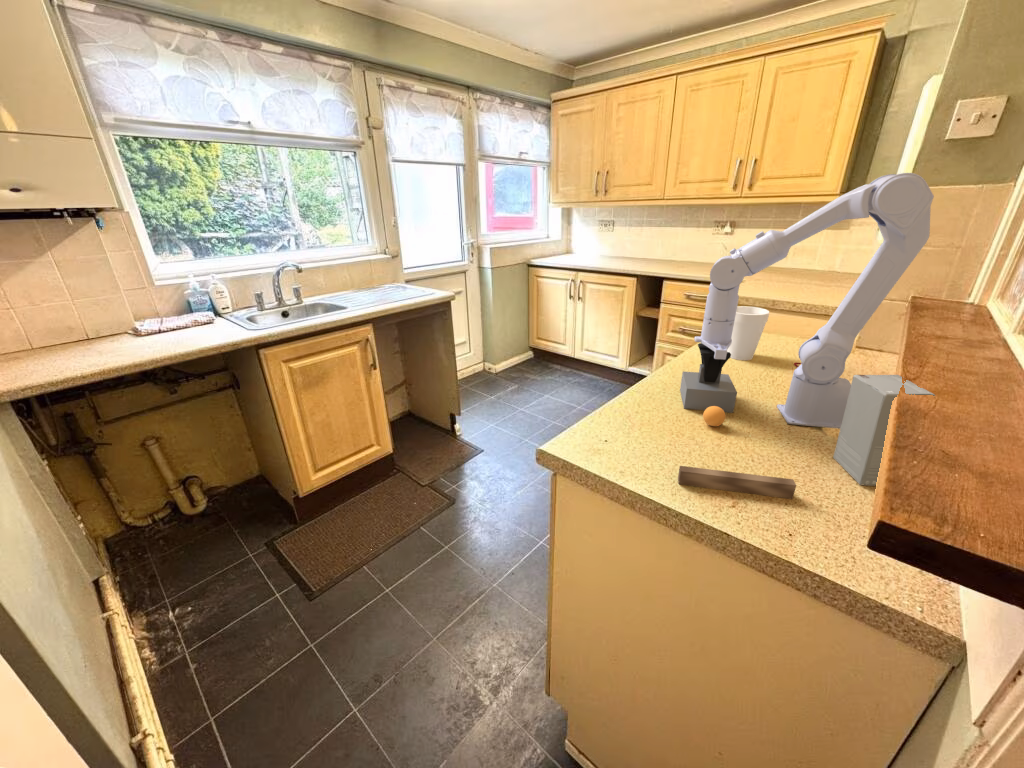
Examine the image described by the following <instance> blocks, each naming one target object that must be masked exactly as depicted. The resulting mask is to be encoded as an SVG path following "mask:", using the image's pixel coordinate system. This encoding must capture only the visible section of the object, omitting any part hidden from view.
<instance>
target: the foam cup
mask: <svg viewBox="0 0 1024 768" xmlns="http://www.w3.org/2000/svg"><path fill="white" fill-rule="evenodd" d="M769 316H770V311H769V309H766V308H763V307H757V306H745V305H741V306H739V305H737V310H736V316H735V321H734V327H733V332H732V337H731V339H732V343H731V345H730V347H729V348H728V349H727V352H730V354H731V357H730V358H731V359H734V360H736V361H751V360H753V358H754V356H755V353H756V350H757V348H758V346H759V345H758V344H759V342H760V341H761V340H760V339H761V337H762V334H763V332H764V330H765V327H766V324H767V323H768V319H769ZM730 358H729V359H730Z"/></svg>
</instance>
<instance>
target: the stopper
mask: <svg viewBox="0 0 1024 768" xmlns="http://www.w3.org/2000/svg"><path fill="white" fill-rule="evenodd" d="M677 482H678V485H682V486H684V485H685V486H691V487H699V488H705V489H706V488H707V489H714V490H722V491H729V492H735V493H744V494H750V495H751V494H753V495H758V496H767V497H774V498H780V499H781V498H783V499H789V500H793V499H794V495H795V491H796V489H797V484H796V482H795V480H794V479H793V478H785V477H777V476H776V477H775V476H767V475H762V474H761V475H759V474H751V473H743V472H736V471H726V470H719V469H711V468H710V469H709V468H702V467H695V466H694V467H692V466H686V465H679V469H678V476H677Z"/></svg>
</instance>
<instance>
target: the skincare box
mask: <svg viewBox="0 0 1024 768" xmlns="http://www.w3.org/2000/svg"><path fill="white" fill-rule="evenodd" d="M852 376H853V377H852V379H851V382H850V384H851V387H850V392H849V396H848V400H847V404H846V408H845V412H844V416H843V420H842V424H841V428H840V429H839V433H838V436H837V440H836V446H835V449H834V451H833V456H832V458H833V459H834V460H835V461H836V462H837V463H838V464H839V465H840V466H841V467H842V469H844V470H845V471H846V472H847V473H848V474H849V475H850V476H851V477H852V478H853V479H854V480H855V481H856V483H858V484H859V485H860V486H870V487H871V486H874V487H876V486H875V485H876V482H877V477H878V472H879V468H880V463H881V458H882V452H883V447H884V441H885V435H886V430H887V425H888V419H889V414H890V409H891V405H892V401H893V400H894V398H895V397H897V395H898V394H899V391H900V388H901V387H902V385H904V388H905V393H906V394H909V395H911V394H912V395H914V394H915V395H933V396H935V397H936V394H935V393H933V392H931V391H929V390H927V389H925V388H923V387H922V388H920V387H921V386H920V387H918V386H919V385H918V384H915V383H914V382H912V381H911V380H908V379H907V380H906V382H905V381H904V382H905V383H904V384H903V383H902V377H903V376H901V375H899V374H854V375H852ZM917 385H918V386H917Z"/></svg>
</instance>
